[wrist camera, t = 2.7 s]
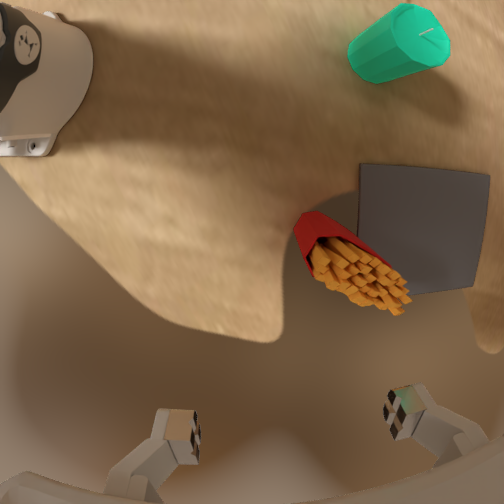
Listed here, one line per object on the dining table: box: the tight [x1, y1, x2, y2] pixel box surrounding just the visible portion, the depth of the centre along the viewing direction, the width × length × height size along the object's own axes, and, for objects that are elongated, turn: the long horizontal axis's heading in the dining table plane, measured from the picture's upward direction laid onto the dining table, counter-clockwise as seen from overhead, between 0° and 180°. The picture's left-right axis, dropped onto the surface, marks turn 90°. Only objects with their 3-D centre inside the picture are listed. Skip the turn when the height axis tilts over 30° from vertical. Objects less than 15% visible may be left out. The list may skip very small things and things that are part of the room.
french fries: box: [293, 211, 412, 316], centre depth 27 cm, size 9×4×13 cm, turn 61°
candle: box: [347, 3, 450, 84], centre depth 21 cm, size 6×6×12 cm
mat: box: [357, 164, 490, 296], centre depth 33 cm, size 20×16×1 cm
